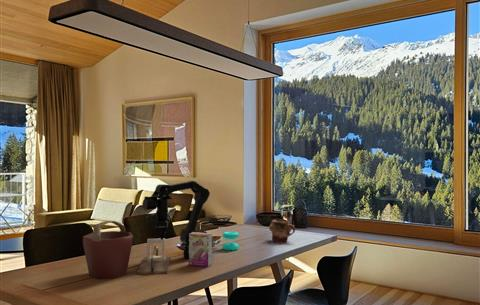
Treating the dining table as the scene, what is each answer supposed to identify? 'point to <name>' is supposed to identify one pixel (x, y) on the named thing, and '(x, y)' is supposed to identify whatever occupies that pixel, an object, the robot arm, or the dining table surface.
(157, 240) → the hollow square tube
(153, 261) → the bent copper wire
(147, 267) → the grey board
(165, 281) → the dining table surface
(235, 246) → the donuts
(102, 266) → the bucket
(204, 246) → the candy bar box
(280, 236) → the brown ceramic mug
